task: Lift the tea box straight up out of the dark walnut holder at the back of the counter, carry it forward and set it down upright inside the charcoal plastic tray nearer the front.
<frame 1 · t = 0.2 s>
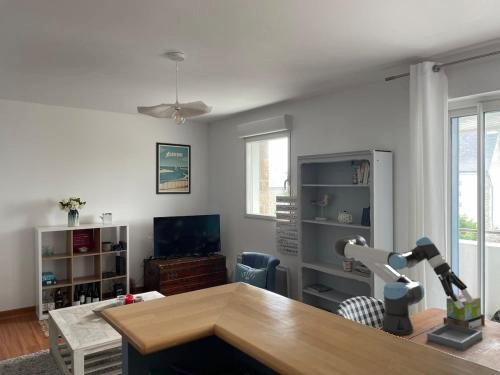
hand: (466, 305, 181), 16 cm above the table, tool tilted 35°, fingers open, 13 cm apart
tea box: (464, 326, 197), resting in walnut holder
charcoal tray: (454, 339, 179), on the table
walnut holder: (464, 325, 197), on the table
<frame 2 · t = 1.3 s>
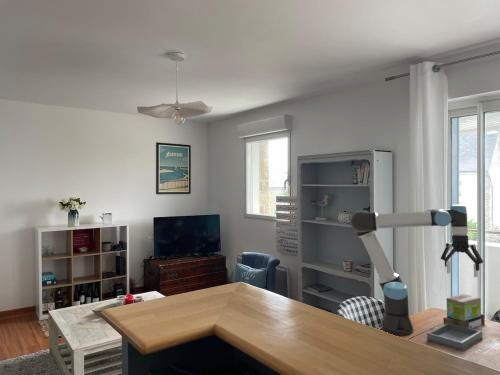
hand: (462, 275, 197), 26 cm above the table, tool pointing down, fingers open, 13 cm apart
nothing on the table moved.
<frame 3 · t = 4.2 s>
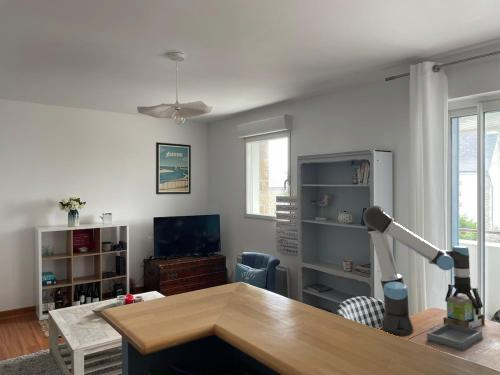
hand: (464, 318, 197), 4 cm above the table, tool pointing down, fingers closed on tea box, 10 cm apart
tea box: (464, 326, 197), resting in walnut holder, touching gripper
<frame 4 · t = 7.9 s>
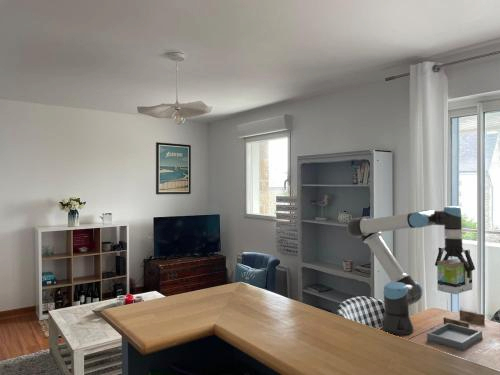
hand: (454, 282, 186), 26 cm above the table, tool pointing down, fingers closed on tea box, 10 cm apart
tea box: (455, 290, 186), point 21 cm above the table, touching gripper
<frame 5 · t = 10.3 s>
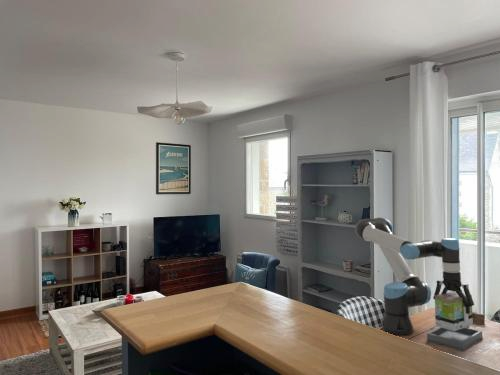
hand: (453, 317, 180), 10 cm above the table, tool pointing down, fingers closed on tea box, 10 cm apart
tea box: (454, 326, 179), point 6 cm above the table, touching gripper
when the fingers open (6 cm above the table, at t = 12.1 s): tea box drops 1 cm, resting on charcoal tray.
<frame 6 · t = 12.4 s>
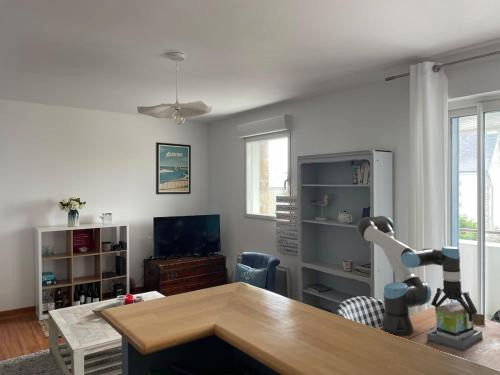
hand: (454, 324, 180), 7 cm above the table, tool pointing down, fingers open, 13 cm apart
tea box: (455, 338, 179), point 1 cm above the table, touching charcoal tray
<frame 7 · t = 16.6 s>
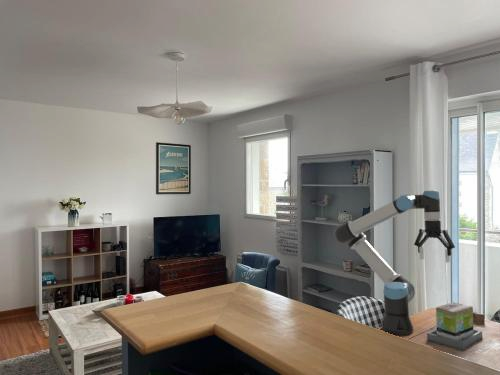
hand: (434, 260, 197), 35 cm above the table, tool pointing down, fingers open, 13 cm apart
nothing on the table moved.
at the end: tea box inside the target area on the charcoal tray (0.3 cm from its centre), point 0.8 cm above the charcoal tray's base; tea box tilted 0°; the gripper is holding nothing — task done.
